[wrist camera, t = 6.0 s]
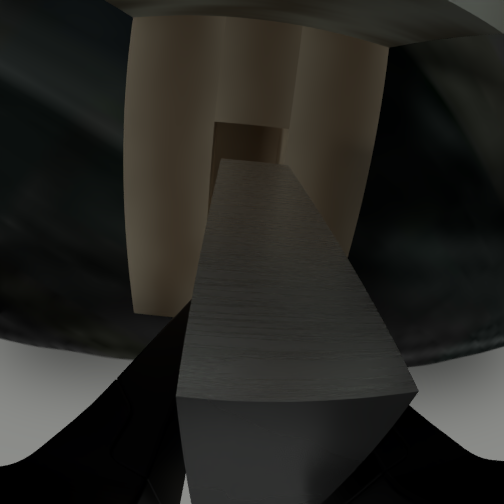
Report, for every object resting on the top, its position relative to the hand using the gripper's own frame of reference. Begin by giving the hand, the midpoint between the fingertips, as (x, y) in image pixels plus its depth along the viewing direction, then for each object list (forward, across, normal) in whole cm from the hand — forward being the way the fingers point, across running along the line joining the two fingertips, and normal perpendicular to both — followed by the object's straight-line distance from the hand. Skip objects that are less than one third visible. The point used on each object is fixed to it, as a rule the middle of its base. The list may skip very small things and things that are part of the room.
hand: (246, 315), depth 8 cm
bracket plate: (+3, 0, 0) cm, 3 cm away
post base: (+12, 0, -2) cm, 12 cm away
